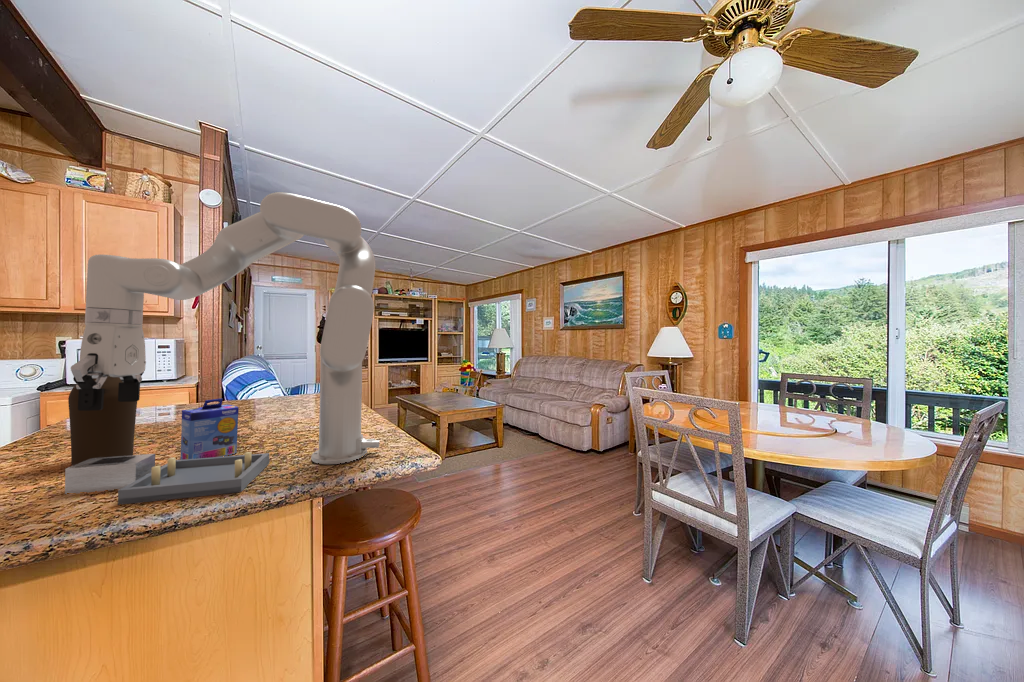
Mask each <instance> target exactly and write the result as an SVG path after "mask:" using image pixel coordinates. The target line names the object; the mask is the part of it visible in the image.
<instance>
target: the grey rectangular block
mask: <svg viewBox="0 0 1024 682" xmlns="http://www.w3.org/2000/svg"><path fill="white" fill-rule="evenodd" d="M154 466H156V453H148V454H144V453H143V454H133V455H130V456H116V457H102V458H91V459H88V460H86V461H83V462H81V463H78V464H76V465H73V466H72V465H71V466H68V467H67V468H65V470H64V471H65V473H64V474H65V477H64V495H65V494H66V495H68V494H67V493H76V494H81V493H80V492H87V493H94V492H95V491H97V492H106V491H105V490H108V491H114V489H118V490H120V489H122V488H124V487H125V486H127V485H129V484H131V483H133V482H134V481H136V480H138V479H140V478H142V477H143V476H145V475H147V474H149V473H151V471H152V467H154Z"/></svg>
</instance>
